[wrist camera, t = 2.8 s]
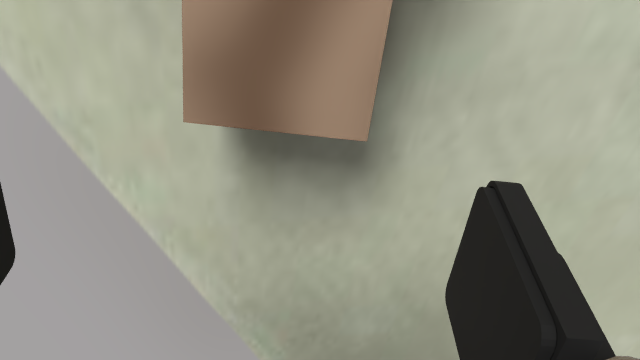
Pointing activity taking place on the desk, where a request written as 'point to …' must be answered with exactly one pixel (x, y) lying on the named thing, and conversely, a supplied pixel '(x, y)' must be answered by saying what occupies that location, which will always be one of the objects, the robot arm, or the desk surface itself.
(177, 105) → the desk surface
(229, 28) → the brown open box
